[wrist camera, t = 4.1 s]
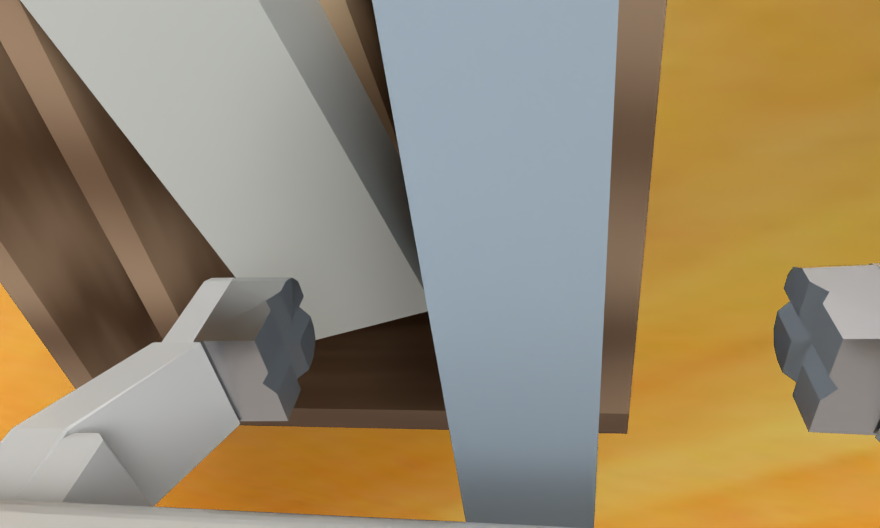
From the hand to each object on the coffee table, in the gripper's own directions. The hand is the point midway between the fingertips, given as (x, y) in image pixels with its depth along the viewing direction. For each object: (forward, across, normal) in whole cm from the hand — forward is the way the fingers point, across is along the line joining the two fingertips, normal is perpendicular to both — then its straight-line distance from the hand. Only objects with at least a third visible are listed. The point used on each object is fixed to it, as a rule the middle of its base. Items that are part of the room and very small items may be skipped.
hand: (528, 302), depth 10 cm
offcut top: (+8, +7, 0) cm, 11 cm away
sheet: (+14, 0, 0) cm, 14 cm away
